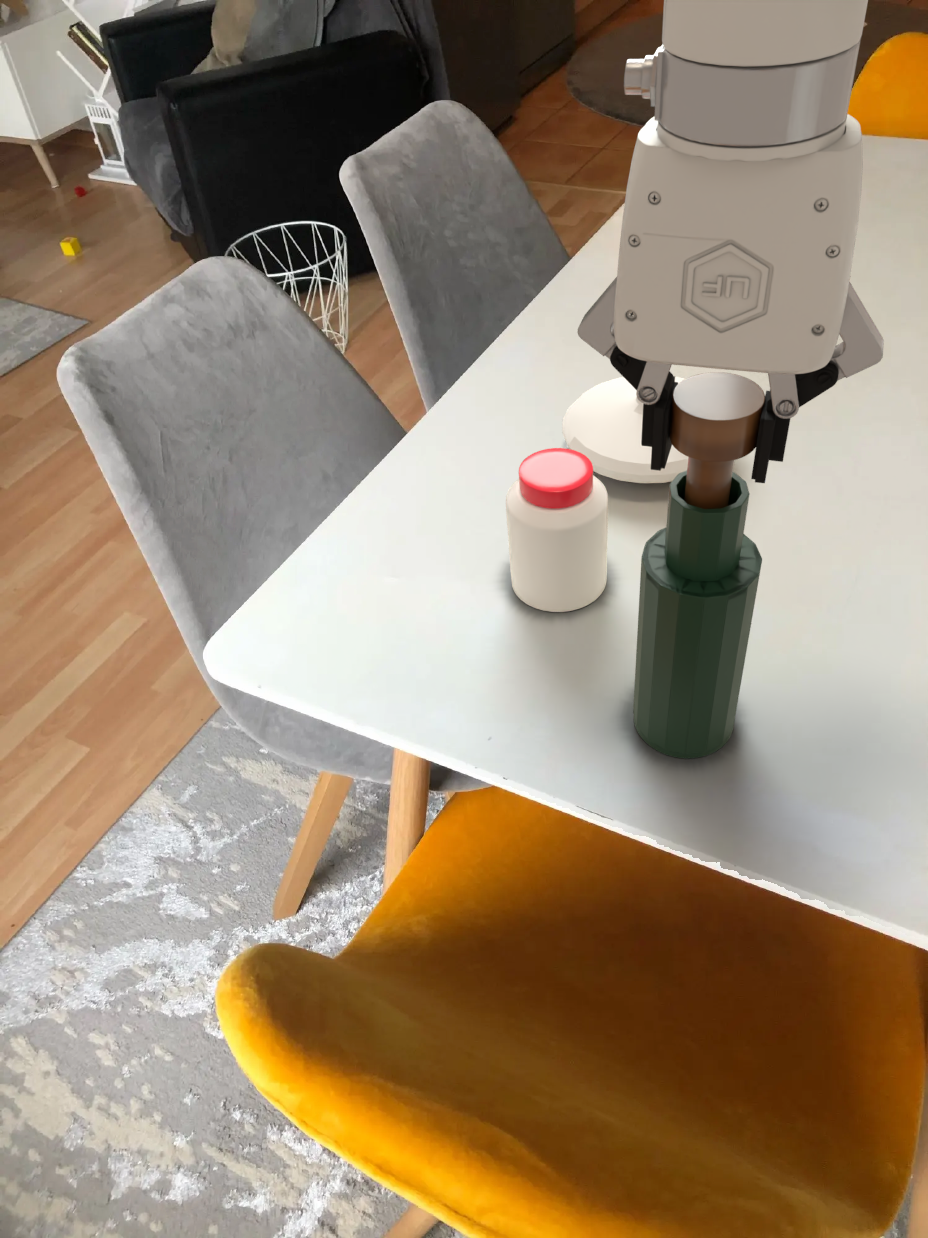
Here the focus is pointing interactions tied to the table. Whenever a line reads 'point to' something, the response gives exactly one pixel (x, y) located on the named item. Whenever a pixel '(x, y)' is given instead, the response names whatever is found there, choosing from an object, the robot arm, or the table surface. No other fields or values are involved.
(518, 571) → the pill bottle
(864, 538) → the table surface
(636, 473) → the vase
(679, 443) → the stopper
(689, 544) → the bottle
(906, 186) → the table surface
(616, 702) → the table surface
